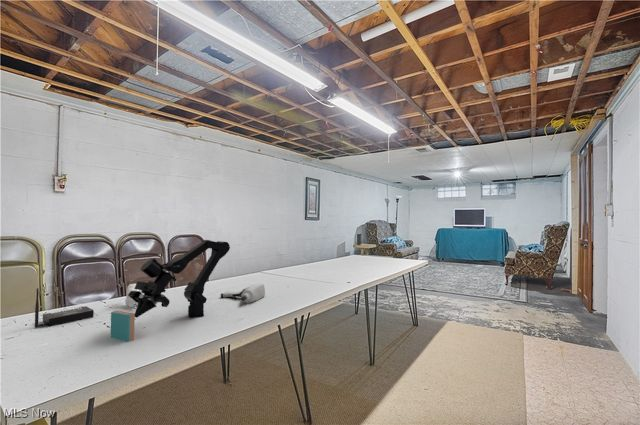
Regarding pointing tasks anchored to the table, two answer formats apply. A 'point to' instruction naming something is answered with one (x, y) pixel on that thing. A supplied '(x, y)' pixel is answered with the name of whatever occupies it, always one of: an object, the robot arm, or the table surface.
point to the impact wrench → (247, 293)
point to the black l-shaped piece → (62, 316)
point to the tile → (122, 325)
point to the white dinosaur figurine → (129, 300)
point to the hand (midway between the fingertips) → (135, 317)
